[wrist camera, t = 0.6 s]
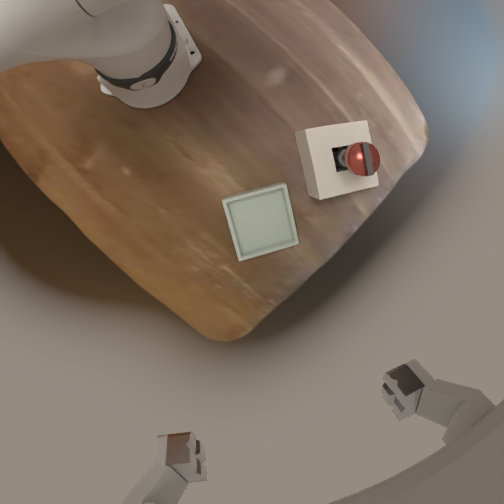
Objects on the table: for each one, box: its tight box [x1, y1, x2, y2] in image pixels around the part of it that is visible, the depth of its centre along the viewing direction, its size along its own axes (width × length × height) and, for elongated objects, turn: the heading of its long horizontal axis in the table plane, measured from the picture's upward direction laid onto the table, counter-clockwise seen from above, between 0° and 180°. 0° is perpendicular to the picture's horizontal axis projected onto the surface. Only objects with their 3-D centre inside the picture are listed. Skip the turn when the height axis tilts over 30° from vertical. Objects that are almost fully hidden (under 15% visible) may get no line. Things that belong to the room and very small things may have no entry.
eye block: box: [294, 120, 379, 200], centre depth 47 cm, size 12×12×6 cm
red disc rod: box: [332, 142, 380, 176], centre depth 44 cm, size 5×5×14 cm
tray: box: [221, 182, 299, 261], centre depth 50 cm, size 11×11×3 cm
